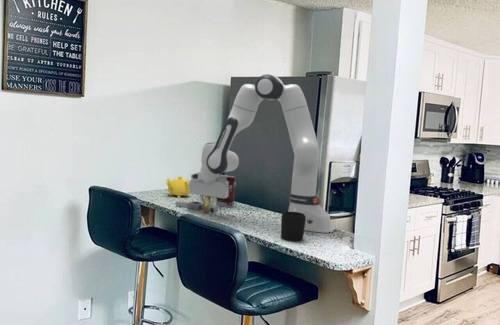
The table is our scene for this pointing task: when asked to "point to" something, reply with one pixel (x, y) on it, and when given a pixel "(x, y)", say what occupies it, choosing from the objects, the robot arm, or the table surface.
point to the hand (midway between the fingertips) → (207, 205)
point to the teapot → (178, 186)
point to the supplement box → (231, 188)
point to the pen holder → (292, 226)
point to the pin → (207, 204)
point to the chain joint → (195, 206)
